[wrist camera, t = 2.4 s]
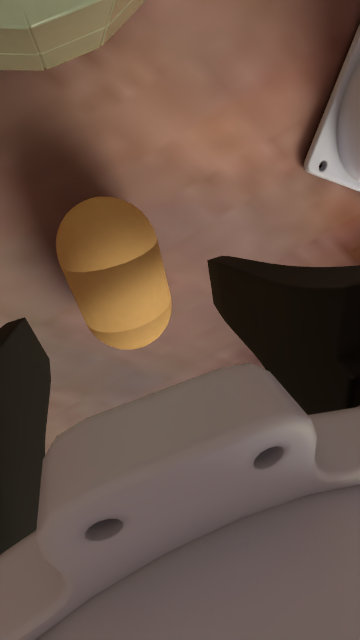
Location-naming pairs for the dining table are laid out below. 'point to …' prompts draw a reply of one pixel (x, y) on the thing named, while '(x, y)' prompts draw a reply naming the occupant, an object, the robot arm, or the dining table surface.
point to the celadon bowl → (57, 29)
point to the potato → (115, 271)
